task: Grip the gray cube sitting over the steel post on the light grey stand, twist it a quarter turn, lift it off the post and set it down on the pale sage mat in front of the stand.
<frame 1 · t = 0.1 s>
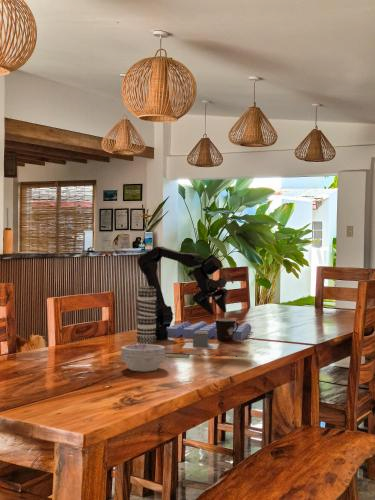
hand: (219, 313, 268), 15 cm above the table, tool tilted 30°, fingers open, 9 cm apart
post stand: (200, 348, 269), on the table
leaning tower model: (146, 345, 279), on the table
paper bowls: (143, 370, 225), on the table
gray cube: (201, 345, 269), point 1 cm above the table, touching post stand
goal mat: (176, 354, 255), on the table
blocks: (210, 335, 312), on the table
coffee mug: (228, 343, 287), on the table
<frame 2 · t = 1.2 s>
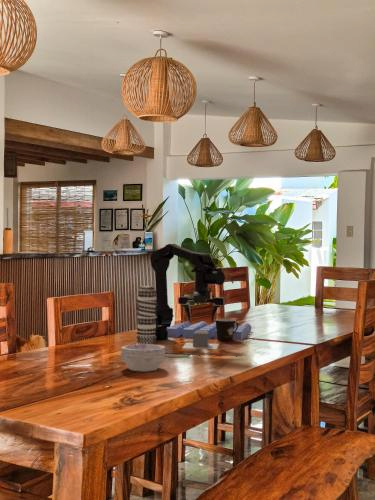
hand: (201, 321, 269), 11 cm above the table, tool pointing down, fingers open, 9 cm apart
nothing on the table moved.
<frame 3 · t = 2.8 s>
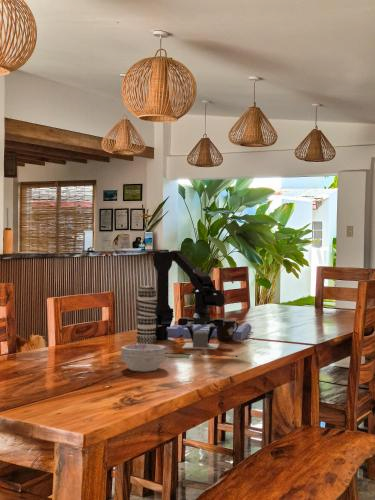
hand: (201, 342, 269), 3 cm above the table, tool pointing down, fingers closed on gray cube, 6 cm apart
gray cube: (201, 345, 269), point 1 cm above the table, touching gripper, post stand
everything else where it was.
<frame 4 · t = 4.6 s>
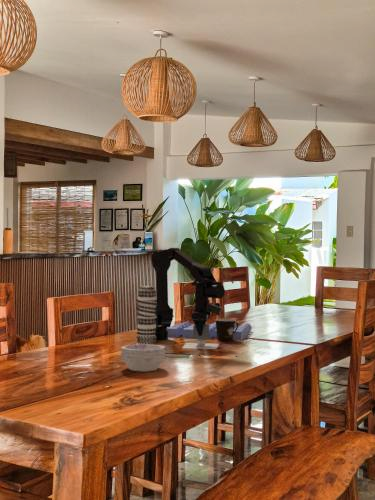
hand: (201, 334, 269), 6 cm above the table, tool pointing down, fingers closed on gray cube, 6 cm apart
gray cube: (201, 337, 269), point 4 cm above the table, touching gripper
everything else where it was.
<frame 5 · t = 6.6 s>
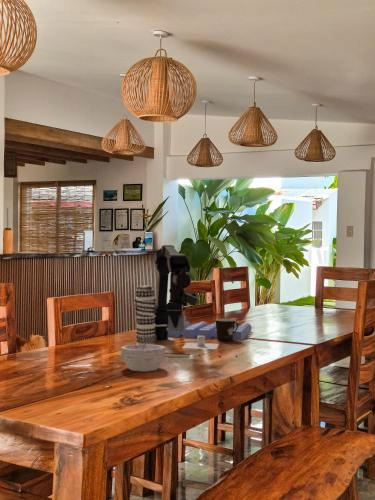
hand: (176, 326, 255), 11 cm above the table, tool pointing down, fingers closed on gray cube, 6 cm apart
leaning tower model: (146, 344, 279), on the table, touching arm
gray cube: (177, 329, 255), point 10 cm above the table, touching gripper
everything else where it was.
when the fingers open (3 cm above the table, at t = 8.8 s): gray cube drops 1 cm, resting on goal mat.
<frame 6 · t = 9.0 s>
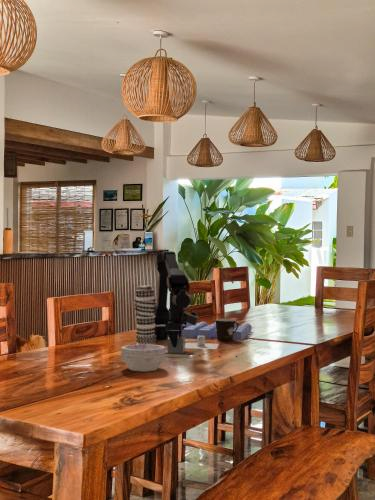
hand: (176, 345, 255), 3 cm above the table, tool pointing down, fingers open, 8 cm apart
gray cube: (176, 352, 255), point 1 cm above the table, touching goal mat
everything else where it was.
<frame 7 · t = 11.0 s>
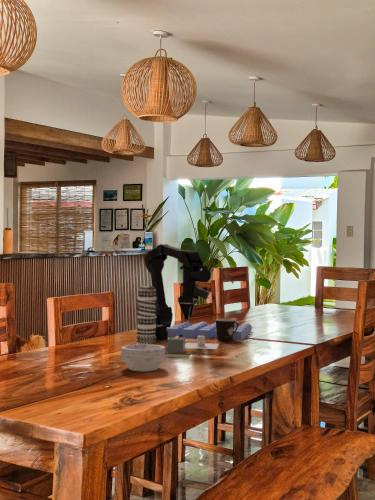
hand: (188, 318, 271), 12 cm above the table, tool pointing down, fingers open, 9 cm apart
leaning tower model: (146, 345, 279), on the table
everything else where it was.
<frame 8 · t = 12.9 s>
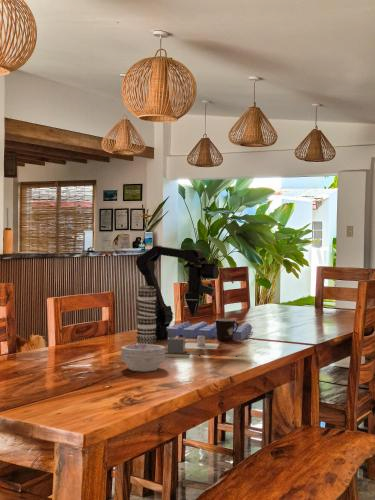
hand: (194, 314, 279), 13 cm above the table, tool pointing down, fingers open, 9 cm apart
nothing on the table moved.
at the end: gray cube inside the target area on the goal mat (0.1 cm from its centre), point 0.8 cm above the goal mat's base; gray cube tilted 0°; the gripper is holding nothing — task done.
